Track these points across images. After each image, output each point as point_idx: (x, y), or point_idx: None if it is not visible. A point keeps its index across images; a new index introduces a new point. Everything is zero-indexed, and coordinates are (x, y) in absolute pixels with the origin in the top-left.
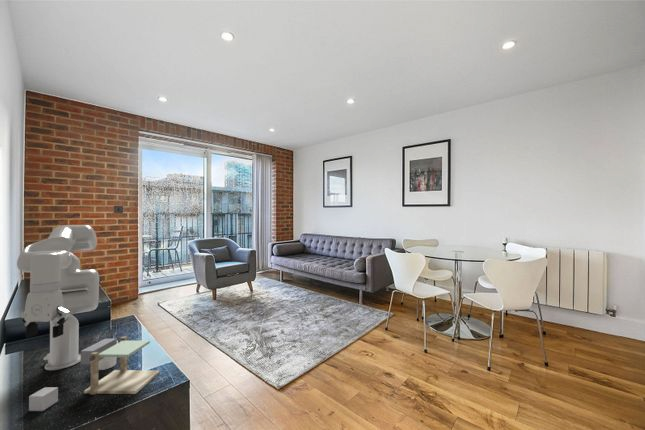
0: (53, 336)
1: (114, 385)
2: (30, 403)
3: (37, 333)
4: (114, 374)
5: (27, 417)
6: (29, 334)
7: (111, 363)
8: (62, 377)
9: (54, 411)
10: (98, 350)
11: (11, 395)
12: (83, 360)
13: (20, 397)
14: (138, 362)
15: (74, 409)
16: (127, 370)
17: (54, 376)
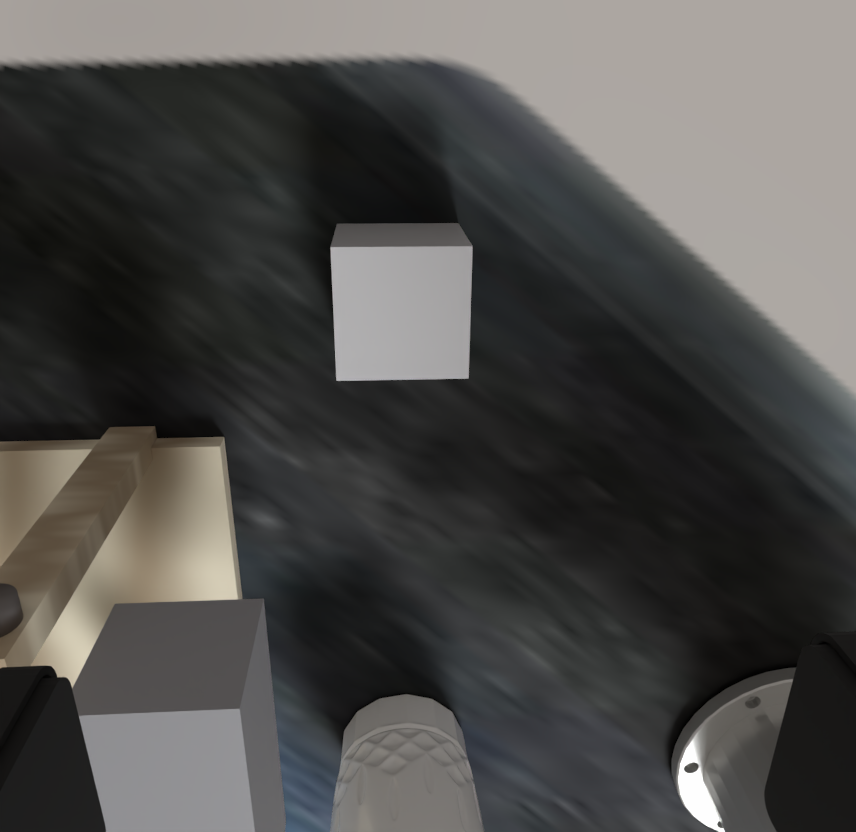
0: (7, 688)
1: (24, 516)
2: (450, 233)
3: (770, 817)
4: None
5: (379, 144)
6: (843, 716)
7: (343, 751)
8: (616, 601)
9: (229, 220)
10: None
11: (800, 391)
12: (221, 626)
13: (703, 372)
14: None
15: (81, 248)
16: None
17: (693, 608)
